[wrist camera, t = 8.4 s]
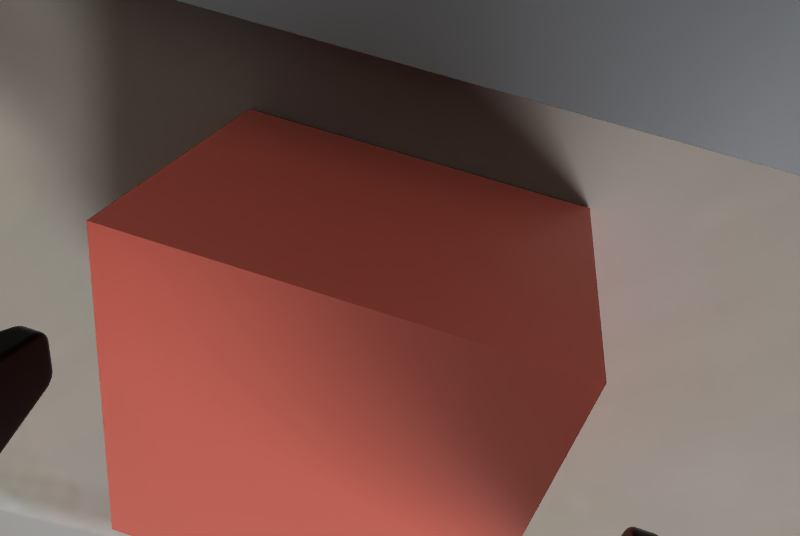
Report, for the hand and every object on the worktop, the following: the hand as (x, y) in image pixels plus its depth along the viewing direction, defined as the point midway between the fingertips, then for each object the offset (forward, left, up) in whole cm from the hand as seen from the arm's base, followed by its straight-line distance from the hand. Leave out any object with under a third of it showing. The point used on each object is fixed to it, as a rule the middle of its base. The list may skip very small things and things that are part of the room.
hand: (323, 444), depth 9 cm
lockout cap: (0, 0, -4) cm, 4 cm away
